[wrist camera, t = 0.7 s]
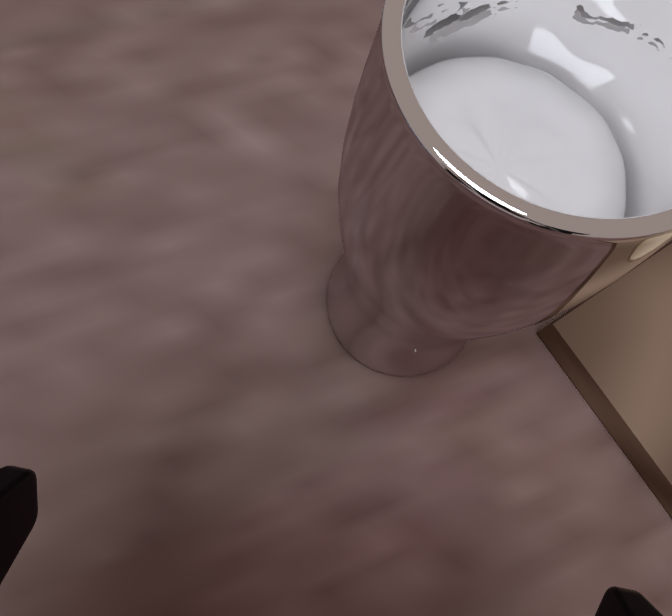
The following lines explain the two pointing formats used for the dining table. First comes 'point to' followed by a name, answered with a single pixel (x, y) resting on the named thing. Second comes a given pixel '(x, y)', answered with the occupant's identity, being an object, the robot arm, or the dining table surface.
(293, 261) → the dining table surface
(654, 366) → the walnut board
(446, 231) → the beer glass
